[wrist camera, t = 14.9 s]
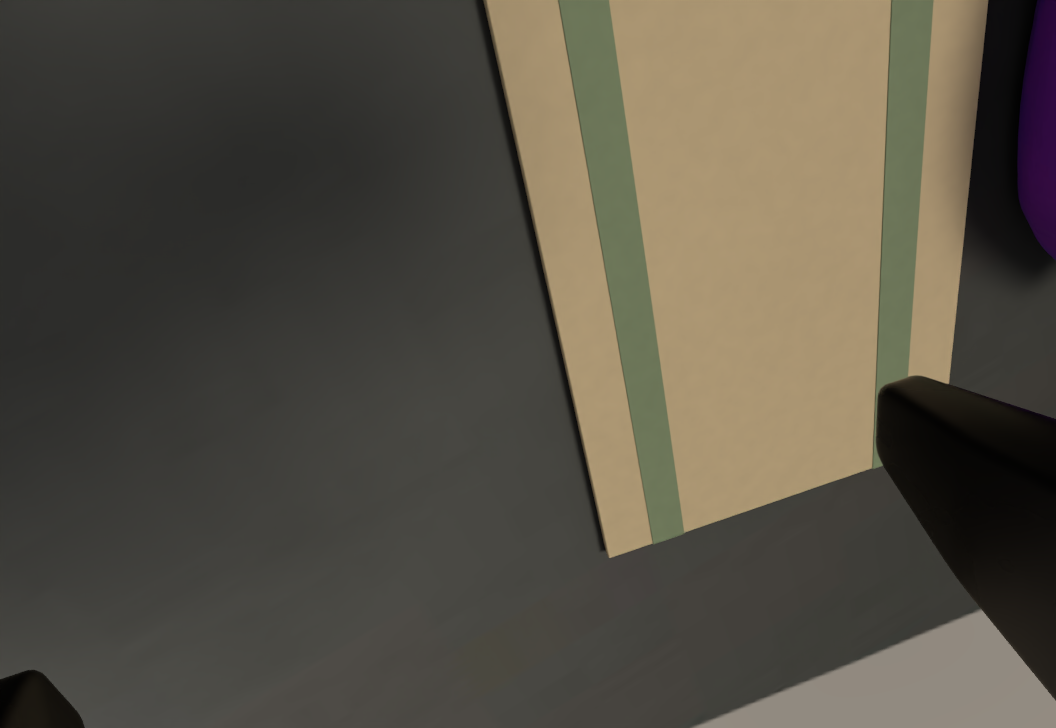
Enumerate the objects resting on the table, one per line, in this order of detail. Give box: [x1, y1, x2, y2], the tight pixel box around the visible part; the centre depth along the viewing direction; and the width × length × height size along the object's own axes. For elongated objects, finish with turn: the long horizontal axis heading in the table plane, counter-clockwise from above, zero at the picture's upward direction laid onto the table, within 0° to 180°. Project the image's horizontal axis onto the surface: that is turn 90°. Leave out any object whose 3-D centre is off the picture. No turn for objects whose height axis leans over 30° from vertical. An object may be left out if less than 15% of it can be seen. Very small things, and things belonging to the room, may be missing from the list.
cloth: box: [483, 0, 988, 558], centre depth 20 cm, size 20×11×1 cm, turn 12°
